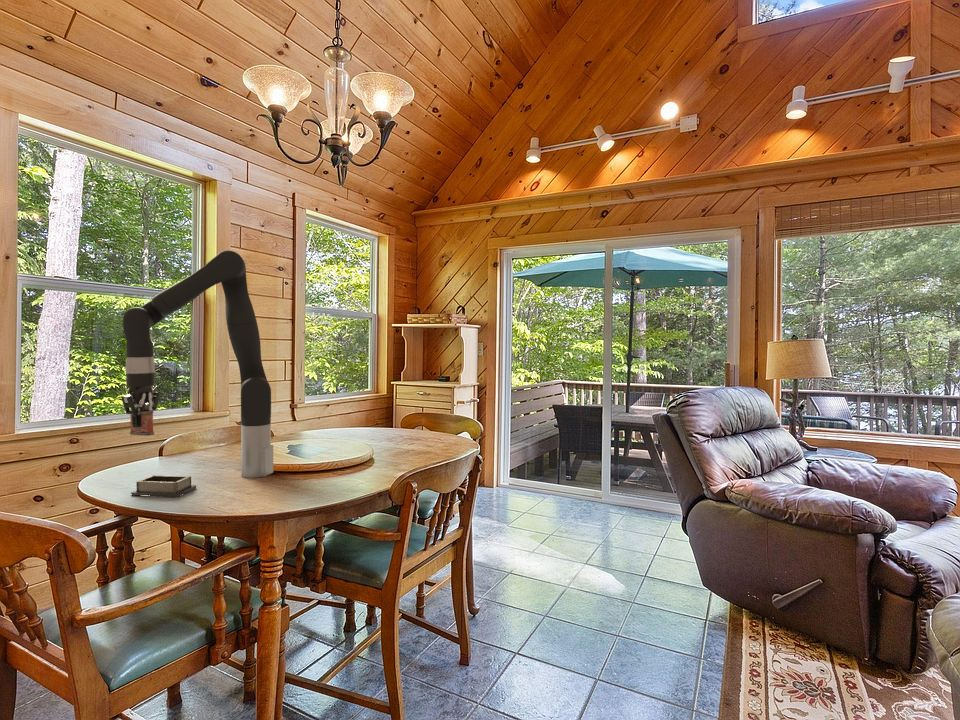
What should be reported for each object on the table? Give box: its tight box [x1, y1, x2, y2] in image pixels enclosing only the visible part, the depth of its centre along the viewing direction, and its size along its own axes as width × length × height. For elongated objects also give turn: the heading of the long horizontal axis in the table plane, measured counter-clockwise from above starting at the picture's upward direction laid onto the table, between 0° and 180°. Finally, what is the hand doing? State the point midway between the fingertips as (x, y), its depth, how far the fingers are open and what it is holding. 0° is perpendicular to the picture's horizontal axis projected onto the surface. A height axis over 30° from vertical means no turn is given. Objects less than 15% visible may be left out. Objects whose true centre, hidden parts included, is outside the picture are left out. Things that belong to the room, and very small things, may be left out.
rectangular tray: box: [130, 474, 197, 498], centre depth 154 cm, size 9×14×4 cm, turn 86°
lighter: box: [129, 403, 155, 437], centre depth 162 cm, size 8×3×10 cm, turn 75°
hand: (142, 425), depth 162 cm, fingers closed on lighter, 3 cm apart
